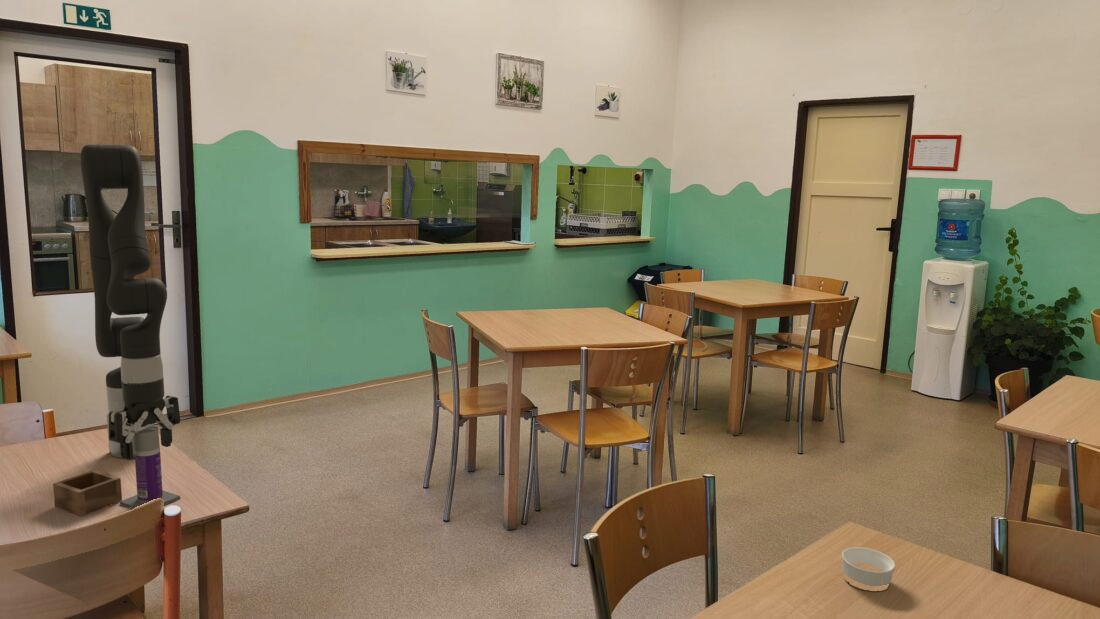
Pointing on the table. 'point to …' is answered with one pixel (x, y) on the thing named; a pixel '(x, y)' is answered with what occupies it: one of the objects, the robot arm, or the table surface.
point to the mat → (134, 503)
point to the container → (148, 464)
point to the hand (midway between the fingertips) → (147, 452)
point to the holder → (87, 492)
